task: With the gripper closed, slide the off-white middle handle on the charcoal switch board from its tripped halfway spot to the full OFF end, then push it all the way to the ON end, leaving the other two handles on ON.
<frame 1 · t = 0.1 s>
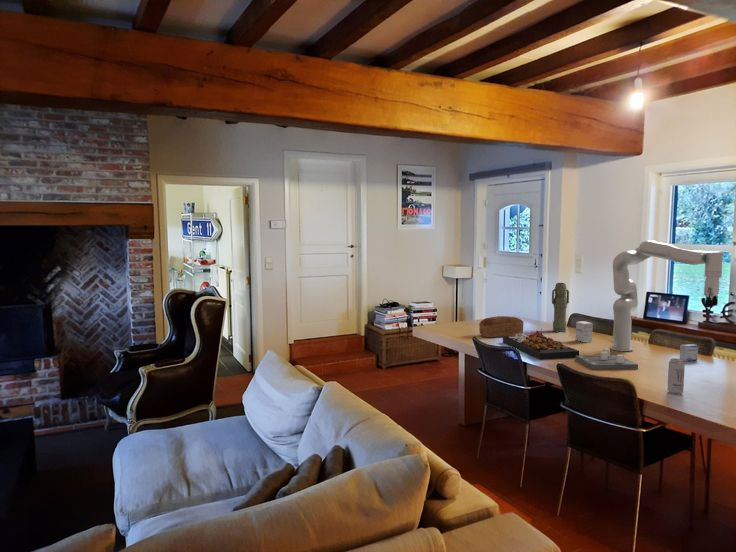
hand: (711, 306, 270), 31 cm above the table, tool pointing down, fingers open, 9 cm apart
switch board: (605, 364, 272), on the table
medicine box: (688, 360, 280), on the table
food platter: (538, 350, 307), on the table
handle middle: (604, 355, 272), point 5 cm above the table, slide at 5.0 cm
energy drink can: (675, 393, 224), on the table
bread: (501, 336, 348), on the table
handle a: (606, 352, 279), point 5 cm above the table, slide at 10.0 cm
handle c: (620, 358, 265), point 5 cm above the table, slide at 10.0 cm
white ridged canister: (583, 341, 329), on the table
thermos: (559, 331, 362), on the table
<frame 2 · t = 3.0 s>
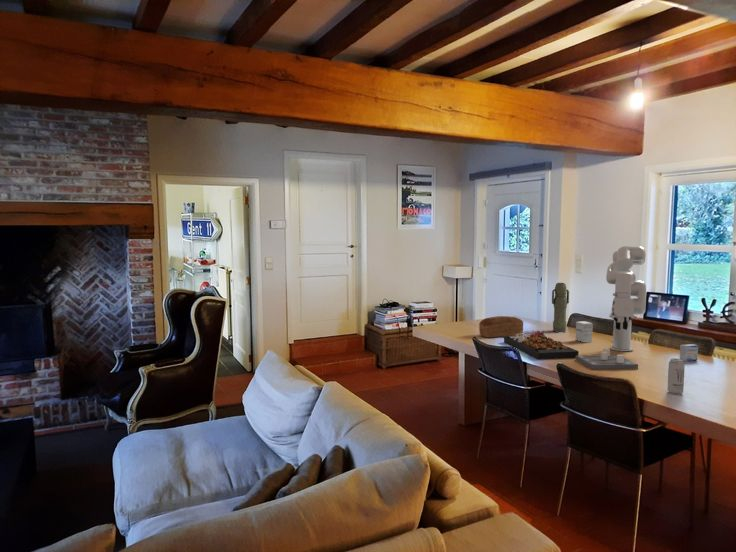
hand: (621, 329, 271), 19 cm above the table, tool pointing down, fingers open, 3 cm apart
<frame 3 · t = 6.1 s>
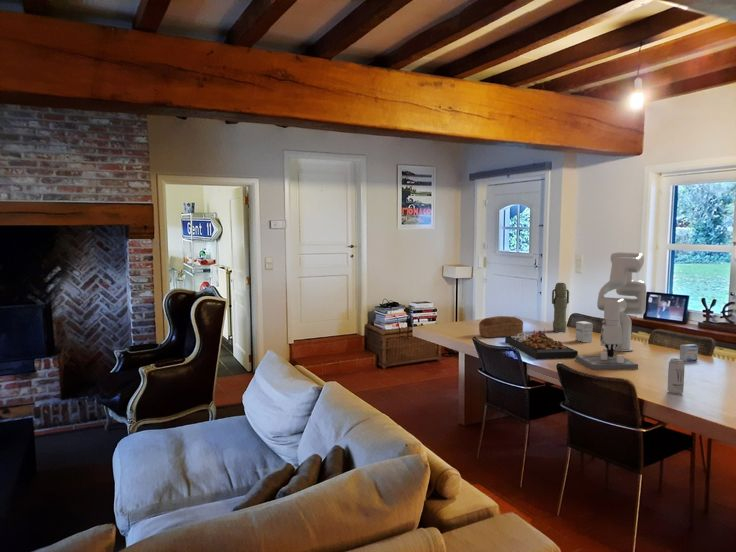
hand: (610, 356, 272), 4 cm above the table, tool pointing down, fingers closed
handle middle: (603, 355, 272), point 5 cm above the table, slide at 4.8 cm, touching gripper
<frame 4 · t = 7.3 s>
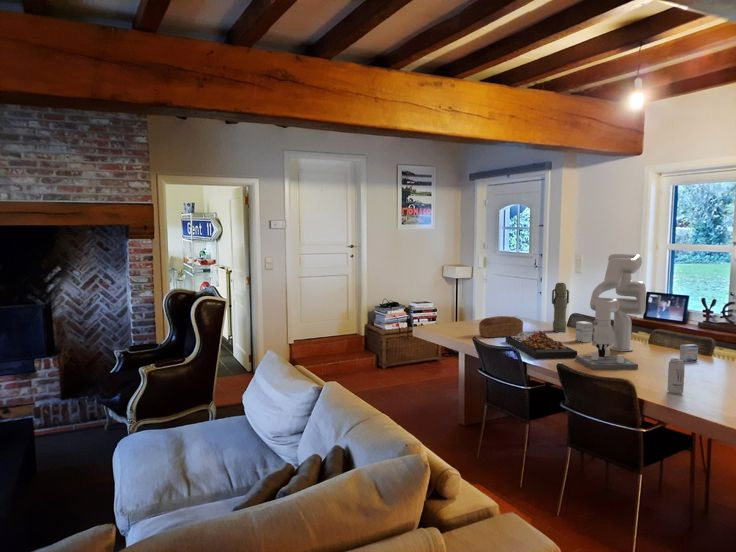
hand: (601, 356, 272), 4 cm above the table, tool pointing down, fingers closed
handle middle: (595, 355, 271), point 5 cm above the table, slide at 0.0 cm, touching gripper
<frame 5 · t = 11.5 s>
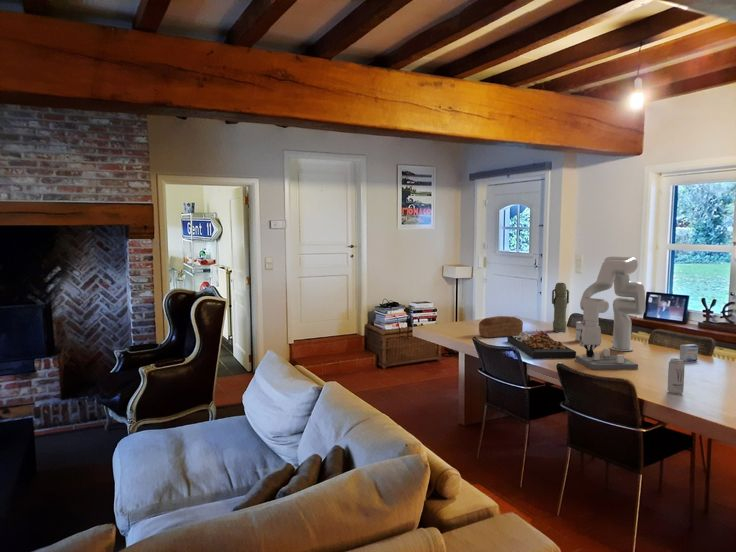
hand: (589, 356, 271), 4 cm above the table, tool pointing down, fingers closed
handle middle: (596, 355, 271), point 5 cm above the table, slide at 0.6 cm, touching gripper
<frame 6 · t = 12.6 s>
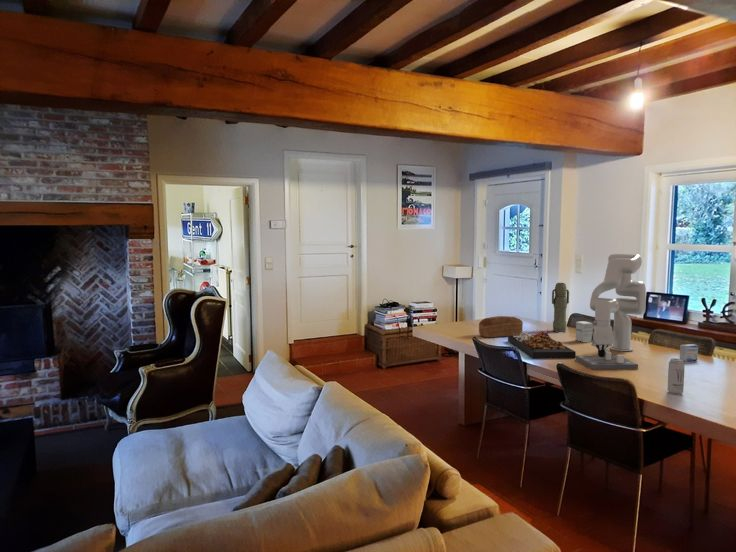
hand: (601, 356, 272), 4 cm above the table, tool pointing down, fingers closed
handle middle: (607, 355, 272), point 5 cm above the table, slide at 7.0 cm, touching gripper
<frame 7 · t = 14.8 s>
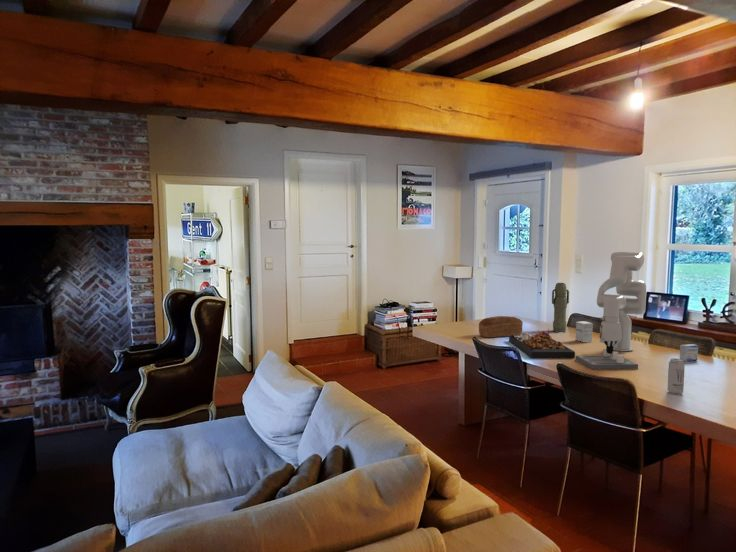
hand: (609, 353, 272), 6 cm above the table, tool pointing down, fingers closed
handle middle: (614, 355, 272), point 5 cm above the table, slide at 10.8 cm, touching gripper
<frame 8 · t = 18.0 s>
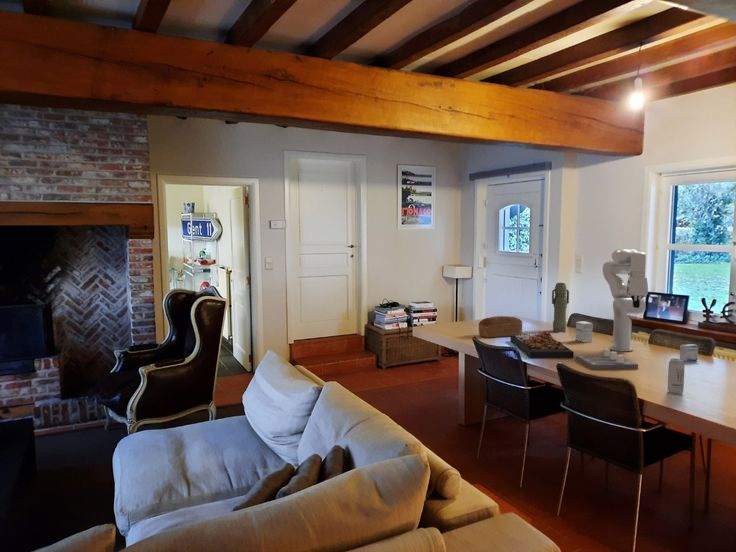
hand: (636, 307, 281), 29 cm above the table, tool pointing down, fingers closed
handle middle: (613, 355, 272), point 5 cm above the table, slide at 10.1 cm
at the end: handle middle slide at 10.1 cm; handle a slide at 10.0 cm; handle c slide at 10.0 cm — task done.
